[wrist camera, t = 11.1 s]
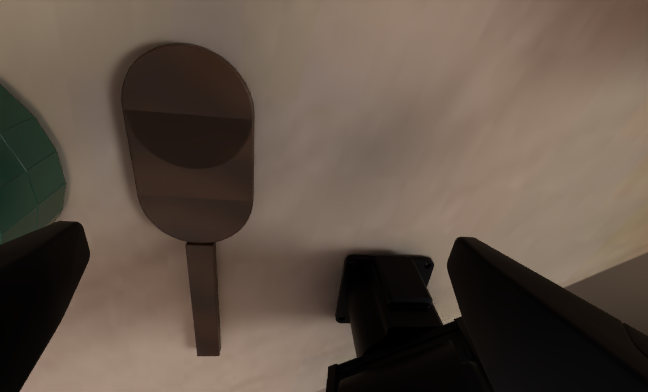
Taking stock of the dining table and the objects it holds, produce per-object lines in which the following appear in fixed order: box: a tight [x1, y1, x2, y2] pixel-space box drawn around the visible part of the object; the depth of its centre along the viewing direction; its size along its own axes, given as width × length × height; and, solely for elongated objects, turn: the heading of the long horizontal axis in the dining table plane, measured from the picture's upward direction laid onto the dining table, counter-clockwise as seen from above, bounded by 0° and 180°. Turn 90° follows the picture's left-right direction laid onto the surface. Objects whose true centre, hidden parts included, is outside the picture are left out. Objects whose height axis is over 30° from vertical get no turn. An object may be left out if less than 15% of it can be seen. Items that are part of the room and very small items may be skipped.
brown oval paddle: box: [121, 43, 254, 356], centre depth 22 cm, size 23×7×1 cm, turn 174°
